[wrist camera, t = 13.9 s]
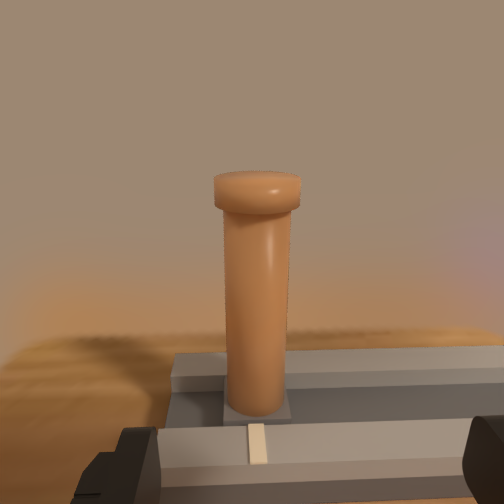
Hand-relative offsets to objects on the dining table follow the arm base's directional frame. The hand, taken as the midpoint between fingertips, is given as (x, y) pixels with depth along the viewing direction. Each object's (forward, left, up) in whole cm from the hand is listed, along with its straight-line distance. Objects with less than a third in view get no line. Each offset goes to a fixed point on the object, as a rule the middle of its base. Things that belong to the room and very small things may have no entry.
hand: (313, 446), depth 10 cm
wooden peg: (-6, -9, -9) cm, 14 cm away
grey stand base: (-11, -5, -10) cm, 16 cm away
